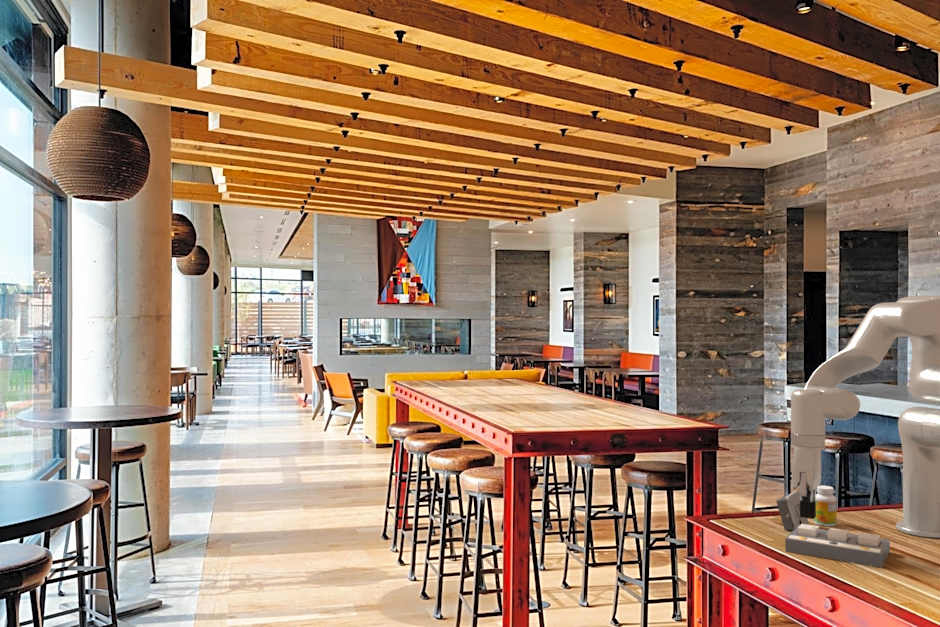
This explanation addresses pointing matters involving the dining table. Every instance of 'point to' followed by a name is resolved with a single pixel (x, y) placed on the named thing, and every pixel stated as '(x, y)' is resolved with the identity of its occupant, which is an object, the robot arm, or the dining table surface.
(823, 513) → the supplement bottle
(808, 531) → the left button
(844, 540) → the middle button
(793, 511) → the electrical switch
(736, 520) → the dining table surface
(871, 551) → the switch panel
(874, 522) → the dining table surface
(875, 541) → the right button
